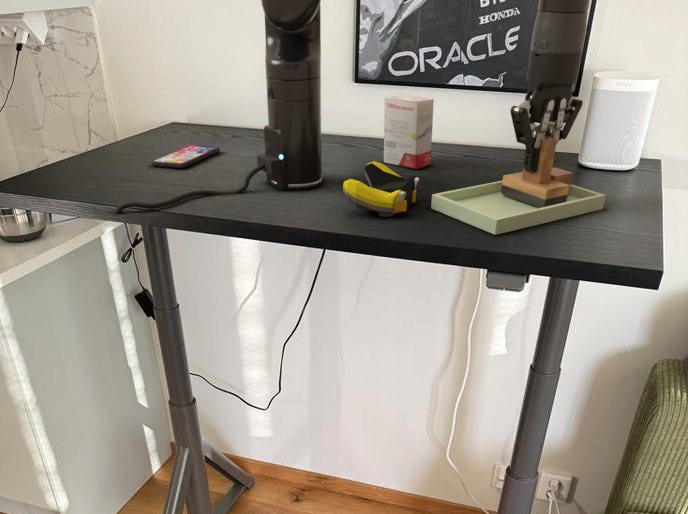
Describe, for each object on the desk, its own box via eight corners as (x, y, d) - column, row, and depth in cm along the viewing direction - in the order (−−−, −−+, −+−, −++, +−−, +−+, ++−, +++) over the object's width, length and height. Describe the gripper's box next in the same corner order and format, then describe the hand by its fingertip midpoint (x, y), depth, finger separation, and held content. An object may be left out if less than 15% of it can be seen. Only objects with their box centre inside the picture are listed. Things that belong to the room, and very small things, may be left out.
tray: (495, 235, 110) (497, 219, 109) (430, 208, 121) (431, 194, 119) (602, 209, 120) (605, 194, 118) (534, 186, 130) (536, 173, 129)
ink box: (431, 165, 142) (436, 98, 135) (414, 170, 139) (419, 102, 132) (398, 157, 147) (401, 92, 140) (381, 162, 145) (383, 96, 137)
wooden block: (551, 201, 121) (555, 176, 118) (534, 195, 123) (538, 170, 121) (568, 197, 122) (573, 172, 120) (551, 191, 125) (555, 167, 123)
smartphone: (149, 161, 142) (189, 144, 153) (150, 166, 143) (190, 149, 154) (182, 164, 140) (220, 146, 151) (183, 169, 140) (221, 151, 151)
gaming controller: (338, 216, 117) (398, 223, 114) (338, 181, 114) (400, 187, 111) (367, 191, 128) (422, 197, 126) (368, 158, 125) (425, 163, 122)
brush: (543, 209, 116) (554, 145, 111) (500, 194, 123) (508, 133, 117) (565, 204, 118) (577, 141, 113) (522, 189, 125) (531, 129, 119)
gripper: (571, 41, 113) (550, 159, 123) (504, 47, 107) (488, 171, 118) (609, 46, 108) (584, 169, 118) (540, 53, 102) (521, 182, 113)
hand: (537, 169), depth 118 cm, fingers closed on brush, 2 cm apart
